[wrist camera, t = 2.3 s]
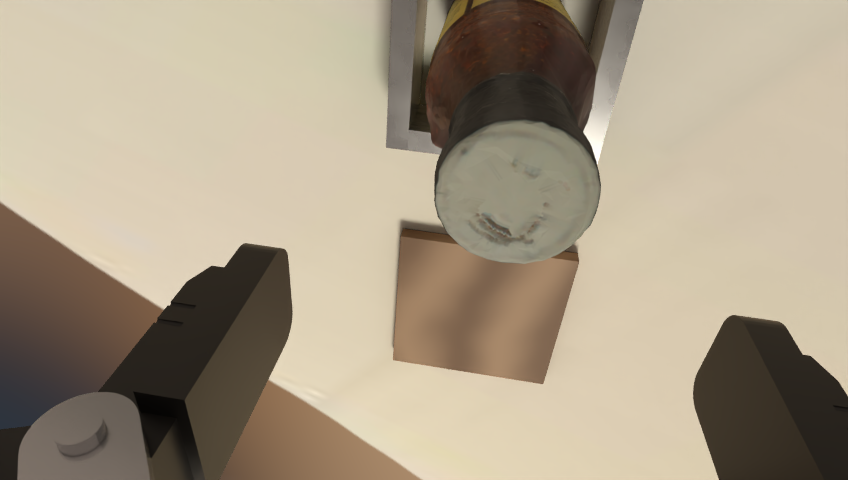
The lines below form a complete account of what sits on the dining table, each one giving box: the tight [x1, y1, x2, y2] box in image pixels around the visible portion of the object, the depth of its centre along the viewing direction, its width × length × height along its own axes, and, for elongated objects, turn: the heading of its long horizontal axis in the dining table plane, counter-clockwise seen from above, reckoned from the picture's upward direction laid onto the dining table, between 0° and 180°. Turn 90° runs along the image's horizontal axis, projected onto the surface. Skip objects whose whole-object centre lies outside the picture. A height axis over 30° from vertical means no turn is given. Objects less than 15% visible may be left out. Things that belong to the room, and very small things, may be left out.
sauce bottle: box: [425, 0, 601, 264], centre depth 21 cm, size 7×6×20 cm
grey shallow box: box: [386, 0, 644, 163], centre depth 28 cm, size 11×12×4 cm
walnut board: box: [393, 228, 579, 384], centre depth 40 cm, size 12×12×1 cm
